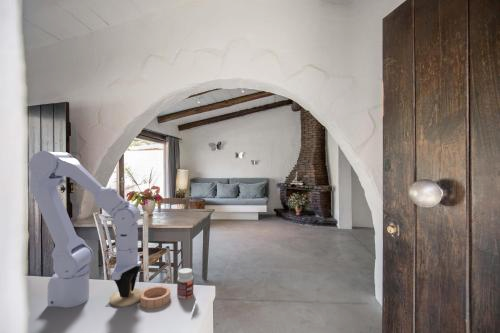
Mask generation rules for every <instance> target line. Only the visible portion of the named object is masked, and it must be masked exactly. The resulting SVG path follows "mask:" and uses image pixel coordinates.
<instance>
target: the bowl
mask: <svg viewBox="0 0 500 333" xmlns="http://www.w3.org/2000/svg"><path fill="white" fill-rule="evenodd" d="M152 296H153V297H152ZM154 296H157V297H154ZM170 300H171V289H170V288H169V287H167V286H165V285H154V286H150V287H147V288H145V289H143V290H142V292H141V293H140V301H139V304H140V306H141V307H143V308H145V309H154V308H155V309H157V308H159V307H164V306H165V305H166V304H168V303H169V302H170Z"/></svg>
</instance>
